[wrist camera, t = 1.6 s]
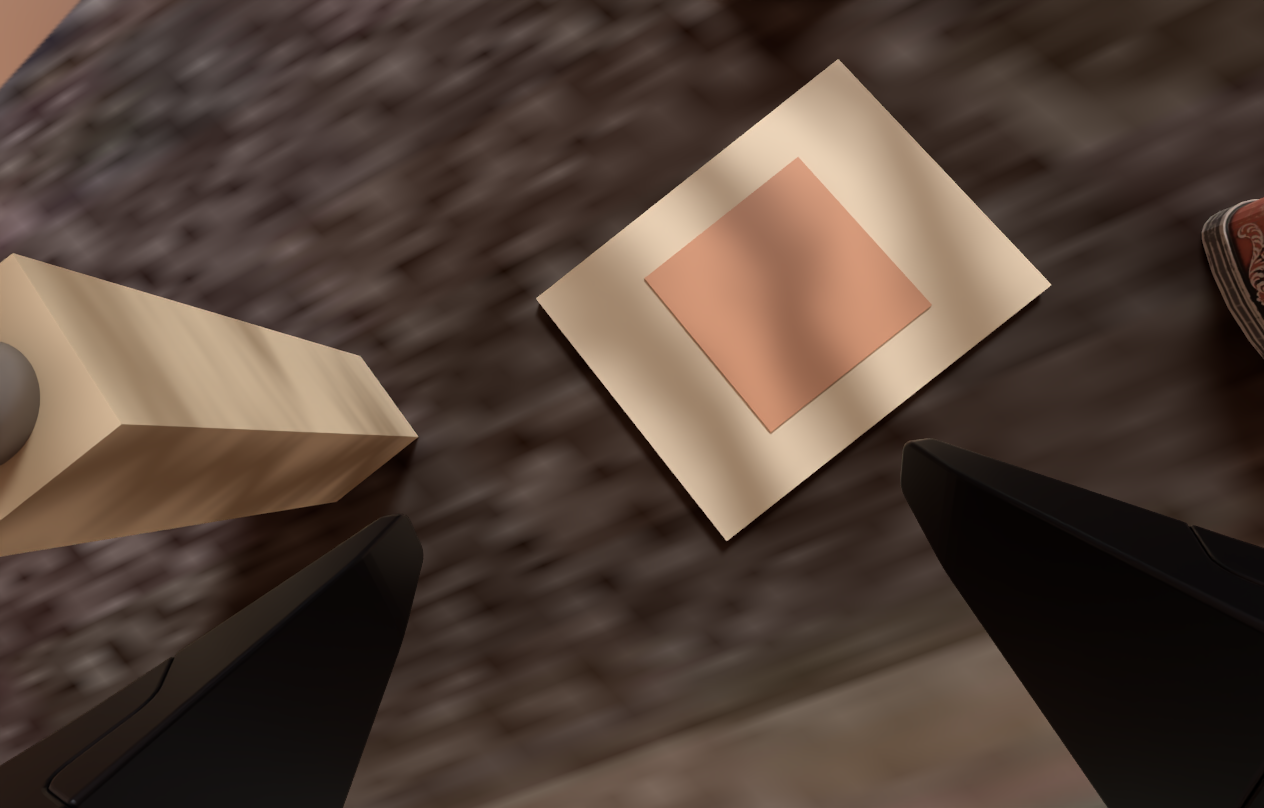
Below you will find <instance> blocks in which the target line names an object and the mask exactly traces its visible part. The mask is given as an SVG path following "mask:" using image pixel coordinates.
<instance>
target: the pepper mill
mask: <svg viewBox="0 0 1264 808" xmlns="http://www.w3.org/2000/svg"><path fill="white" fill-rule="evenodd" d="M416 438H418V435H417V434H416V433H415V431H414V430H413V429H412V427H411V426H410V424H409V423H408V422H407V420H406V419H405V417H404V416H403V415H402V413H401V412H400V411H399V409H398V408H397V406H396V405H395V404H394V402H393V401H392V399H391V398H390V397H389V395H388V394H387V392H386V391H385V390H384V388H383V387H382V386H381V384H380V383H379V381H378V380H377V379H376V377H375V376H374V374H373V373H372V372H371V370H370V369H369V368H368V366H367V365H366V363H365V362H364V361H363V359H362V358H361V356H358V355H354V354H351V353H348V352H344V351H341V350H337V349H334V348H331V347H327V346H324V345H321V344H317V343H314V342H310V341H307V340H304V339H300V338H297V337H294V336H290V335H287V334H283V333H280V332H277V331H273V330H270V329H267V328H263V327H260V326H256V325H253V324H250V323H246V322H243V321H240V320H236V319H233V318H229V317H226V316H223V315H219V314H216V313H213V312H209V311H206V310H203V309H199V308H196V307H192V306H189V305H186V304H182V303H179V302H176V301H172V300H169V299H165V298H162V297H159V296H155V295H152V294H149V293H145V292H142V291H138V290H135V289H132V288H128V287H125V286H122V285H118V284H115V283H111V282H108V281H105V280H101V279H98V278H95V277H91V276H88V275H84V274H81V273H78V272H74V271H71V270H68V269H64V268H61V267H57V266H54V265H51V264H47V263H44V262H41V261H37V260H34V259H30V258H27V257H24V256H20V255H17V254H14V253H13V254H11V255H10V256H9V257H8V258H6V259H5V260H4V261H3V262H1V263H0V557H1V556H7V555H13V554H19V553H25V552H32V551H38V550H44V549H50V548H56V547H62V546H68V545H75V544H81V543H87V542H93V541H99V540H105V539H111V538H117V537H124V536H130V535H136V534H142V533H148V532H154V531H160V530H166V529H173V528H179V527H185V526H191V525H197V524H203V523H209V522H215V521H222V520H228V519H234V518H240V517H246V516H252V515H258V514H264V513H271V512H277V511H283V510H289V509H295V508H301V507H307V506H314V505H320V504H326V503H332V502H337V501H338V500H339V499H341V498H342V497H343V496H344V495H346V494H347V493H348V492H349V491H351V490H352V489H353V488H354V487H356V486H357V485H358V484H360V483H361V482H362V481H363V480H365V479H366V478H367V477H368V476H370V475H371V474H372V473H373V472H375V471H376V470H377V469H378V468H380V467H381V466H382V465H384V464H385V463H386V462H387V461H389V460H390V459H391V458H392V457H394V456H395V455H396V454H397V453H399V452H400V451H401V450H402V449H404V448H405V447H406V446H408V445H409V444H410V443H411V442H413V441H414V440H415V439H416Z"/></svg>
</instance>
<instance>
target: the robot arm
mask: <svg viewBox="0 0 1264 808" xmlns="http://www.w3.org/2000/svg"><path fill="white" fill-rule="evenodd" d="M900 483H901V489H902V492H903V494H904V497H905V498H906V500H907V502H908V504H909V506H910V508H911V510H912V511H913V513H914V515H915V517H916V519H917V521H918V523H919V525H920V526H921V528H922V530H923V532H924V534H925V536H926V538H927V539H928V541H929V543H930V545H931V547H932V549H933V551H934V553H935V554H936V556H937V558H938V560H939V561H940V563H941V565H942V567H943V568H944V570H945V571H946V573H947V575H948V576H949V578H950V579H951V581H952V582H953V584H954V585H955V587H956V588H957V589H958V591H959V592H960V594H961V595H962V597H963V598H964V600H965V601H966V602H967V604H968V605H969V607H970V608H971V610H972V611H973V613H974V614H975V616H976V617H977V618H978V620H979V621H980V623H981V624H982V626H983V627H984V629H985V630H986V632H987V633H988V634H989V636H990V637H991V639H992V640H993V642H994V643H995V645H996V646H997V648H998V649H999V650H1000V652H1001V653H1002V655H1003V656H1004V658H1005V659H1006V661H1007V662H1008V664H1009V665H1010V666H1011V668H1012V669H1013V671H1014V672H1015V674H1016V675H1017V677H1018V678H1019V680H1020V681H1021V682H1022V684H1023V685H1024V687H1025V688H1026V690H1027V691H1028V693H1029V694H1030V696H1031V697H1032V698H1033V700H1034V701H1035V703H1036V704H1037V706H1038V707H1039V709H1040V710H1041V712H1042V713H1043V714H1044V716H1045V717H1046V719H1047V720H1048V722H1049V723H1050V725H1051V726H1052V727H1053V729H1054V730H1055V732H1056V733H1057V735H1058V736H1059V738H1060V739H1061V741H1062V742H1063V743H1064V745H1065V746H1066V748H1067V749H1068V751H1069V752H1070V754H1071V755H1072V757H1073V758H1074V759H1075V761H1076V762H1077V764H1078V765H1079V767H1080V768H1081V770H1082V771H1083V773H1084V774H1085V775H1086V777H1087V778H1088V780H1089V781H1090V783H1091V784H1092V786H1093V787H1094V789H1095V790H1096V791H1097V793H1098V794H1099V796H1100V797H1101V799H1102V800H1103V802H1104V803H1105V805H1106V806H1107V807H1108V808H1264V548H1262V547H1259V546H1256V545H1253V544H1250V543H1246V542H1243V541H1240V540H1237V539H1234V538H1231V537H1228V536H1225V535H1222V534H1219V533H1216V532H1213V531H1210V530H1207V529H1204V528H1201V527H1198V526H1190V527H1189V526H1188V524H1187V523H1185V522H1183V521H1180V520H1176V519H1173V518H1170V517H1167V516H1164V515H1161V514H1158V513H1155V512H1152V511H1149V510H1146V509H1143V508H1140V507H1137V506H1134V505H1131V504H1128V503H1125V502H1122V501H1119V500H1116V499H1113V498H1110V497H1107V496H1104V495H1101V494H1098V493H1095V492H1092V491H1089V490H1086V489H1083V488H1080V487H1077V486H1074V485H1071V484H1068V483H1065V482H1062V481H1059V480H1056V479H1053V478H1050V477H1047V476H1044V475H1041V474H1038V473H1035V472H1032V471H1029V470H1026V469H1023V468H1020V467H1017V466H1014V465H1011V464H1008V463H1005V462H1002V461H999V460H996V459H993V458H990V457H987V456H984V455H981V454H978V453H975V452H972V451H969V450H966V449H963V448H960V447H957V446H954V445H951V444H948V443H945V442H942V441H939V440H936V439H932V438H926V439H919V440H913V441H908V442H907V443H906V444H905V445H904V448H903V455H902V467H901V479H900ZM422 563H423V549H422V546H421V543H420V541H419V539H418V537H417V534H416V532H415V530H414V528H413V525H412V523H411V521H410V519H409V518H408V517H407V516H406V515H404V514H396V515H389V516H383V517H381V518H379V519H377V520H376V521H374V522H373V523H371V524H370V525H368V526H367V527H365V528H364V529H362V530H361V531H359V532H358V533H356V534H355V535H353V536H352V537H350V538H349V539H347V540H346V541H344V542H343V543H341V544H340V545H338V546H337V547H335V548H334V549H332V550H331V551H329V552H328V553H326V554H325V555H323V556H322V557H320V558H319V559H317V560H316V561H314V562H313V563H311V564H310V565H308V566H307V567H305V568H304V569H302V570H301V571H299V572H298V573H296V574H295V575H293V576H292V577H290V578H289V579H287V580H286V581H284V582H283V583H281V584H280V585H278V586H277V587H275V588H274V589H272V590H271V591H269V592H268V593H266V594H265V595H263V596H262V597H260V598H259V599H257V600H256V601H254V602H253V603H251V604H250V605H248V606H247V607H245V608H244V609H242V610H241V611H239V612H238V613H236V614H235V615H233V616H232V617H230V618H229V619H227V620H226V621H224V622H223V623H221V624H220V625H218V626H217V627H215V628H214V629H212V630H211V631H209V632H208V633H206V634H205V635H203V636H202V637H200V638H199V639H197V640H196V641H194V642H193V643H191V644H190V645H188V646H187V647H185V648H184V649H182V650H181V651H179V652H178V653H177V654H176V655H175V657H171V658H169V659H167V660H166V661H164V662H163V663H161V664H160V665H158V666H157V667H155V668H154V669H152V670H151V671H149V672H148V673H146V674H145V675H143V676H141V677H140V678H138V679H137V680H135V681H134V682H132V683H131V684H129V685H128V686H126V687H125V688H123V689H122V690H120V691H118V692H117V693H115V694H114V695H112V696H111V697H109V698H108V699H106V700H105V701H103V702H102V703H100V704H99V705H97V706H95V707H94V708H92V709H91V710H89V711H87V712H86V713H84V714H83V715H81V716H79V717H78V718H76V719H75V720H73V721H71V722H70V723H68V724H67V725H65V726H63V727H62V728H60V729H59V730H57V731H55V732H54V733H52V734H51V735H49V736H48V737H46V738H44V739H43V740H41V741H39V742H38V743H36V744H35V745H33V746H31V747H30V748H28V749H26V750H25V751H23V752H22V753H20V754H18V755H17V756H15V757H13V758H12V759H10V760H9V761H7V762H5V763H4V764H2V765H0V808H343V806H344V803H345V801H346V798H347V795H348V792H349V789H350V787H351V784H352V781H353V778H354V775H355V773H356V770H357V767H358V764H359V762H360V759H361V756H362V753H363V750H364V748H365V745H366V742H367V739H368V736H369V734H370V731H371V728H372V725H373V723H374V720H375V717H376V714H377V711H378V709H379V706H380V703H381V700H382V697H383V695H384V692H385V689H386V686H387V684H388V681H389V678H390V675H391V672H392V670H393V667H394V664H395V661H396V659H397V656H398V653H399V650H400V647H401V644H402V641H403V638H404V634H405V631H406V627H407V624H408V620H409V616H410V612H411V607H412V603H413V599H414V595H415V591H416V587H417V583H418V579H419V575H420V571H421V567H422Z"/></svg>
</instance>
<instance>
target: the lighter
mask: <svg viewBox="0 0 1264 808" xmlns="http://www.w3.org/2000/svg"><path fill="white" fill-rule="evenodd" d="M1202 242H1203V246H1204V249H1205V252H1206V255H1207V258H1208V262H1209V265H1210V268H1211V271H1212V274H1213V276H1214V279H1215V281H1216V283H1217V285H1218V287H1219V290H1220V292H1221V294H1222V296H1223V298H1224V301H1225V303H1226V305H1227V307H1228V309H1229V311H1230V312H1231V314H1232V315H1233V317H1234V318H1235V320H1236V322H1237V323H1238V325H1239V326H1240V328H1241V329H1242V331H1243V332H1244V334H1245V336H1246V337H1247V339H1248V340H1249V342H1250V343H1251V344H1252V345H1253V347H1254V348H1255V349H1256V350H1257V351H1258V353H1259V354H1260V355H1261V356H1262V358H1263V359H1264V198H1261V199H1253V200H1248V201H1244V202H1241V203H1239V204H1236V205H1234V206H1232V207H1229V208H1227V209H1225V210H1222V211H1220V212H1218V213H1217V214H1215V215H1213V216H1211V217H1210V219H1209V220H1208V221H1207V222H1206V223H1205V224H1204V227H1203V230H1202Z"/></svg>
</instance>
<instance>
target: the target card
mask: <svg viewBox="0 0 1264 808" xmlns="http://www.w3.org/2000/svg"><path fill="white" fill-rule="evenodd" d="M1050 286H1051V284H1050V283H1049V282H1048V281H1047V280H1046V279H1045V277H1044V276H1043V275H1042V274H1041V273H1040V272H1039V271H1038V270H1037V269H1036V268H1035V267H1034V266H1033V265H1032V264H1031V263H1030V262H1029V261H1028V259H1027V258H1026V257H1025V256H1024V255H1023V254H1022V253H1021V252H1020V251H1019V250H1018V249H1017V248H1016V247H1015V246H1014V245H1013V244H1012V243H1011V241H1010V240H1009V239H1008V238H1007V237H1006V236H1005V235H1004V234H1003V233H1002V232H1001V231H1000V230H999V229H998V228H997V227H996V226H995V225H994V224H993V222H992V221H991V220H990V219H989V218H988V217H987V216H986V215H985V214H984V213H983V212H982V211H981V210H980V209H979V208H978V207H977V206H976V204H975V203H974V202H973V201H972V200H971V199H970V198H969V197H968V196H967V195H966V194H965V193H964V192H963V191H962V190H961V189H960V188H959V186H958V185H957V184H956V183H955V182H954V181H953V180H952V179H951V178H950V177H949V176H948V175H947V174H946V173H945V172H944V171H943V170H942V168H941V167H940V166H939V165H938V164H937V163H936V162H935V161H934V160H933V159H932V158H931V157H930V156H929V155H928V154H927V153H926V152H925V150H924V149H923V148H922V147H921V146H920V145H919V144H918V143H917V142H916V141H915V140H914V139H913V138H912V137H911V136H910V135H909V134H908V132H907V131H906V130H905V129H904V128H903V127H902V126H901V125H900V124H899V123H898V122H897V121H896V120H895V119H894V118H893V117H892V116H891V114H890V113H889V112H888V111H887V110H886V109H885V108H884V107H883V106H882V105H881V104H880V103H879V102H878V101H877V100H876V99H875V98H874V96H873V95H872V94H871V93H870V92H869V91H868V90H867V89H866V88H865V87H864V86H863V85H862V84H861V83H860V82H859V81H858V80H857V79H856V77H855V76H854V75H853V74H852V73H851V72H850V71H849V70H848V69H847V68H846V67H845V66H844V65H843V64H842V63H841V62H840V61H839V59H838V60H837V61H835V62H834V63H833V64H831V65H830V66H829V67H828V68H826V69H825V70H824V71H823V72H821V73H820V74H819V75H818V76H816V77H815V78H814V79H813V80H811V81H810V82H809V83H808V84H806V85H805V86H804V87H802V88H801V89H800V90H799V91H797V92H796V93H795V94H794V95H792V96H791V97H790V98H789V99H787V100H786V101H785V102H784V103H782V104H781V105H780V106H778V107H777V108H776V109H775V110H773V111H772V112H771V113H770V114H768V115H767V116H766V117H765V118H763V119H762V120H761V121H760V122H758V123H757V124H756V125H754V126H753V127H752V128H751V129H749V130H748V131H747V132H746V133H744V134H743V135H742V136H741V137H739V138H738V139H737V140H736V141H734V142H733V143H732V144H730V145H729V146H728V147H727V148H725V149H724V150H723V151H722V152H720V153H719V154H718V155H717V156H715V157H714V158H713V159H712V160H710V161H709V162H708V163H707V164H705V165H704V166H703V167H701V168H700V169H699V170H698V171H696V172H695V173H694V174H693V175H691V176H690V177H689V178H688V179H686V180H685V181H684V182H683V183H681V184H680V185H679V186H677V187H676V188H675V189H674V190H672V191H671V192H670V193H669V194H667V195H666V196H665V197H664V198H662V199H661V200H660V201H659V202H657V203H656V204H655V205H653V206H652V207H651V208H650V209H648V210H647V211H646V212H645V213H643V214H642V215H641V216H640V217H638V218H637V219H636V220H635V221H633V222H632V223H631V224H629V225H628V226H627V227H626V228H624V229H623V230H622V231H621V232H619V233H618V234H617V235H616V236H614V237H613V238H612V239H611V240H609V241H608V242H607V243H605V244H604V245H603V246H602V247H600V248H599V249H598V250H597V251H595V252H594V253H593V254H592V255H590V256H589V257H588V258H587V259H585V260H584V261H583V262H582V263H580V264H579V265H578V266H576V267H575V268H574V269H573V270H571V271H570V272H569V273H568V274H566V275H565V276H564V277H563V278H561V279H560V280H559V281H558V282H556V283H555V284H554V285H552V286H551V287H550V288H549V289H547V290H546V291H545V292H544V293H542V294H541V295H540V296H539V297H537V298H536V299H537V301H538V302H539V303H540V304H541V306H542V307H543V308H544V310H545V311H546V312H547V313H548V315H549V316H550V317H551V318H552V320H553V321H554V322H555V324H556V325H557V326H558V327H559V329H560V330H561V331H562V332H563V334H564V335H565V336H566V338H567V339H568V340H569V341H570V343H571V344H572V345H573V346H574V348H575V349H576V350H577V351H578V353H579V354H580V355H581V357H582V358H583V359H584V360H585V362H586V363H587V364H588V365H589V367H590V368H591V369H592V371H593V372H594V373H595V374H596V376H597V377H598V378H599V379H600V381H601V382H602V383H603V385H604V386H605V387H606V388H607V390H608V391H609V392H610V393H611V395H612V396H613V397H614V399H615V400H616V401H617V402H618V404H619V405H620V406H621V407H622V409H623V410H624V411H625V413H626V414H627V415H628V416H629V418H630V419H631V420H632V421H633V423H634V424H635V425H636V427H637V428H638V429H639V430H640V432H641V433H642V434H643V435H644V437H645V438H646V439H647V441H648V442H649V443H650V444H651V446H652V447H653V448H654V449H655V451H656V452H657V453H658V454H659V456H660V457H661V458H662V460H663V461H664V462H665V463H666V465H667V466H668V467H669V468H670V470H671V471H672V472H673V474H674V475H675V476H676V477H677V479H678V480H679V481H680V482H681V484H682V485H683V486H684V488H685V489H686V490H687V491H688V493H689V494H690V495H691V496H692V498H693V499H694V500H695V502H696V503H697V504H698V505H699V507H700V508H701V509H702V510H703V512H704V513H705V514H706V516H707V517H708V518H709V519H710V521H711V522H712V523H713V524H714V526H715V527H716V528H717V530H718V531H719V532H720V533H721V535H722V536H723V537H724V538H725V540H726V541H728V540H729V539H730V538H732V537H733V536H734V535H735V534H737V533H738V532H739V531H740V530H742V529H743V528H744V527H745V526H747V525H748V524H749V523H751V522H752V521H753V520H754V519H756V518H757V517H758V516H759V515H761V514H762V513H763V512H764V511H766V510H767V509H768V508H770V507H771V506H772V505H773V504H775V503H776V502H777V501H778V500H780V499H781V498H782V497H783V496H785V495H786V494H787V493H789V492H790V491H791V490H792V489H794V488H795V487H796V486H797V485H799V484H800V483H801V482H802V481H804V480H805V479H806V478H808V477H809V476H810V475H811V474H813V473H814V472H815V471H816V470H818V469H819V468H820V467H821V466H823V465H824V464H825V463H827V462H828V461H829V460H830V459H832V458H833V457H834V456H835V455H837V454H838V453H839V452H840V451H842V450H843V449H844V448H846V447H847V446H848V445H849V444H851V443H852V442H853V441H854V440H856V439H857V438H858V437H859V436H861V435H862V434H863V433H865V432H866V431H867V430H868V429H870V428H871V427H872V426H873V425H875V424H876V423H877V422H878V421H880V420H881V419H882V418H884V417H885V416H886V415H887V414H889V413H890V412H891V411H892V410H894V409H895V408H896V407H898V406H899V405H900V404H901V403H903V402H904V401H905V400H906V399H908V398H909V397H910V396H911V395H913V394H914V393H915V392H917V391H918V390H919V389H920V388H922V387H923V386H924V385H925V384H927V383H928V382H929V381H930V380H932V379H933V378H934V377H936V376H937V375H938V374H939V373H941V372H942V371H943V370H944V369H946V368H947V367H948V366H949V365H951V364H952V363H953V362H955V361H956V360H957V359H958V358H960V357H961V356H962V355H963V354H965V353H966V352H967V351H968V350H970V349H971V348H972V347H974V346H975V345H976V344H977V343H979V342H980V341H981V340H982V339H984V338H985V337H986V336H987V335H989V334H990V333H991V332H993V331H994V330H995V329H996V328H998V327H999V326H1000V325H1001V324H1003V323H1004V322H1005V321H1006V320H1008V319H1009V318H1010V317H1012V316H1013V315H1014V314H1015V313H1017V312H1018V311H1019V310H1020V309H1022V308H1023V307H1024V306H1025V305H1027V304H1028V303H1029V302H1031V301H1032V300H1033V299H1034V298H1036V297H1037V296H1038V295H1039V294H1041V293H1042V292H1043V291H1044V290H1046V289H1047V288H1048V287H1050Z"/></svg>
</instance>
